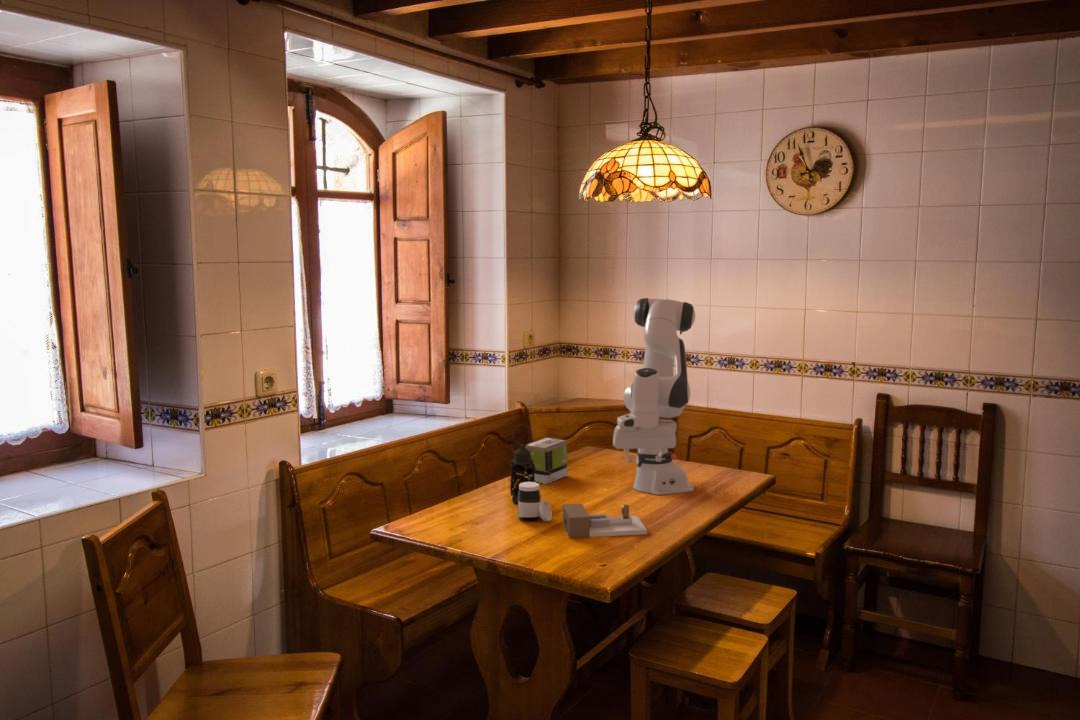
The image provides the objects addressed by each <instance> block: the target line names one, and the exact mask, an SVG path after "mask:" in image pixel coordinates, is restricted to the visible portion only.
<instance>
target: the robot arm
mask: <svg viewBox="0 0 1080 720" xmlns="http://www.w3.org/2000/svg"><path fill="white" fill-rule="evenodd" d="M632 314H633V319H634V322H635V324H637V326H640V327H642V328H644V329H643V338H644V339H643V340H644V342H645V350H644V358H643V365H642V366H643V368H639V369H637V370H635V372H634V375H633V381H632V383H631V385H629V386H627V387H626V389H625V390H624V392H623V397H622V398H623V399H622V400H623V403H624V406H625V407H626V408H627V409H628V410H629V412H630V413H626V414H623V415H621V416H618V417H616V418H617V419H616V422H617V425H616V426H615V427H614V431H613V438H612V446H613V447H614V448H615V449H617V450H623V452H624V454H625V456H626V462H627V463H633V456H632V455H630V454H629V452H630V450H634V449H636V461H635V462H636V474H635V478H634V482H633V486H632V488H633V489H635V490H636V491H638V492H642V493H648V494H652V495H656V496H660V495H671V494H681V493H690V492H694V491H695V489H694V484H692V483H691V482H690V481H689V480H688V475H687V472H686V470H684V469H683V468H682V467H681V466H680V465H678V464H677V463H676V462H674V461H675V460H676V459H677V455H676V454H675V453H673V452H671V451H669V450H668V449H674V448H675V447H676V446H677V437H676V432H677V427H678V425H677V422H676V421H675V420H673V419H671V418H677V417H679V416H681V414H682V413H683V412H684V409H685V406H686V405H687V404H688V403H689V401H690V398H691V388H690V383H689V381H688V380H689V379H688V368H687V355H686V354H687V353H686V347H685V342H684V340H683V339H681V338H680V337H679V336H678V335H677V331H678V332H679V335H682V334H683V333H685V332H688V331H689V330H690V329H691V328H692V326H693V325H694V323H695V321H696V312H695V308H694V306H693V304H691V303H689V302H687V301H679V300H674V299H669V298H667V299H664V298H663V299H661V298H648V297H645V298H643V297H642V298H640V299H638V300H637V301H636V303H635V305H634V306H633V313H632ZM660 417H661V418H660ZM662 418H665V419H662ZM666 418H668V419H666ZM669 418H670V419H669Z"/></svg>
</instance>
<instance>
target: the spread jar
mask: <svg viewBox="0 0 1080 720" xmlns="http://www.w3.org/2000/svg"><path fill="white" fill-rule="evenodd" d="M518 487H519V489H520V490H519V492H518V504H517V516H518V519H519V520H521V521H523V520H524V521H523V522H535V520H536V521H538V520H540V519H542V521H543V522H546V523H547V522H551V520H552V519H553V512H552V507H551V505H550V503H549V502H548V501H547V500H542V497H541V491H540V483H536V482H523V483H520V484H519V486H518Z"/></svg>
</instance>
